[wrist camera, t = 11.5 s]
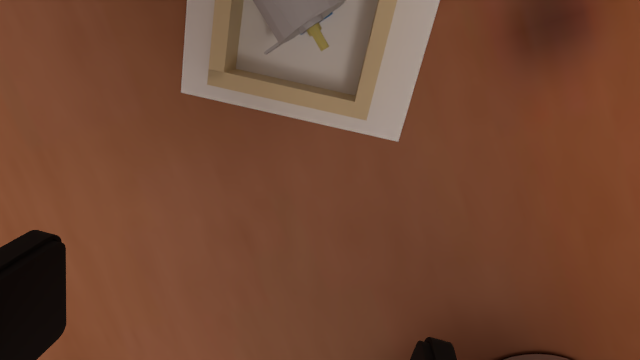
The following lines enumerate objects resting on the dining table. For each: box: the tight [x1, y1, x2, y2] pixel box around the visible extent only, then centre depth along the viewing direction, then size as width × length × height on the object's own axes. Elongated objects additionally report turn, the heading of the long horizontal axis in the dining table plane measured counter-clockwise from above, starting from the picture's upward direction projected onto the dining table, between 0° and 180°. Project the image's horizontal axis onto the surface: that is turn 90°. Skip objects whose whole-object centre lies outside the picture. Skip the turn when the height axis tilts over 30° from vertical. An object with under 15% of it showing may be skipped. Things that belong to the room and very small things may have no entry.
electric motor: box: [253, 0, 346, 55], centre depth 23 cm, size 7×5×5 cm
